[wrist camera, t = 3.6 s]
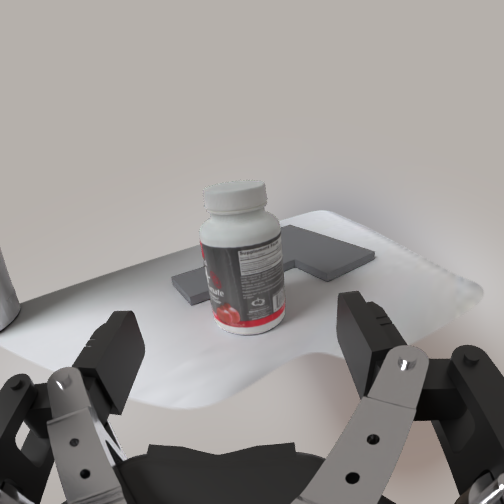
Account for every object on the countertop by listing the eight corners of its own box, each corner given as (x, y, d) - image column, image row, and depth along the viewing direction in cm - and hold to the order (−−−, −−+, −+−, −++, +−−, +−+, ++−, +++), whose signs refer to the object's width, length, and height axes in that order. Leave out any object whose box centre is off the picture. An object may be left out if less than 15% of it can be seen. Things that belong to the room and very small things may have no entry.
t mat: (214, 330, 21) (212, 321, 21) (160, 270, 32) (159, 263, 32) (374, 258, 29) (374, 251, 29) (290, 230, 41) (290, 224, 41)
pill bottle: (202, 314, 23) (179, 190, 20) (258, 291, 26) (246, 176, 22) (239, 348, 19) (216, 197, 16) (301, 316, 22) (294, 180, 18)
